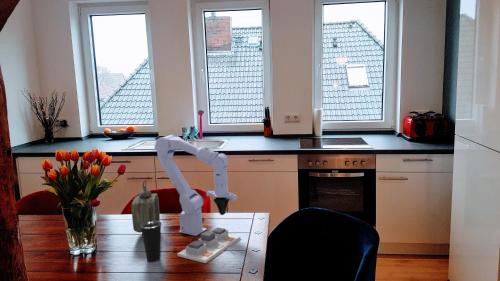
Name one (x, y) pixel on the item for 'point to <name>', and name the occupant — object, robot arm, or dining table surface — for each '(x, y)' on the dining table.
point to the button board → (209, 247)
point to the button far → (219, 230)
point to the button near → (196, 244)
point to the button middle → (207, 236)
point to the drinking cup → (152, 238)
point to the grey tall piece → (144, 208)
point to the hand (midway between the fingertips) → (222, 214)
